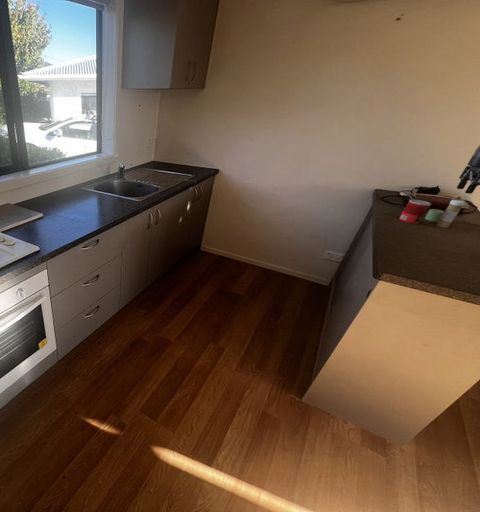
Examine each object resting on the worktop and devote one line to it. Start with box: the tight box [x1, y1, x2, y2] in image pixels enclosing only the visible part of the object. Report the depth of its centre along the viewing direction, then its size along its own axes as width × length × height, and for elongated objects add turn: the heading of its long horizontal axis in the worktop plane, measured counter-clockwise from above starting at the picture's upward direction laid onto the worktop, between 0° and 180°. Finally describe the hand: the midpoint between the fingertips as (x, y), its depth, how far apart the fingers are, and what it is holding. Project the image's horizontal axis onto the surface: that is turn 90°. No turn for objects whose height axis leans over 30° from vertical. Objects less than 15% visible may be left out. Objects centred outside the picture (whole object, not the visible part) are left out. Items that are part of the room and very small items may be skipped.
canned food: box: [398, 199, 432, 225], centre depth 149 cm, size 8×8×11 cm
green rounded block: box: [424, 208, 445, 223], centre depth 153 cm, size 6×6×5 cm
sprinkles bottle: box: [435, 199, 466, 229], centre depth 143 cm, size 5×5×14 cm
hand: (463, 191), depth 138 cm, fingers open, 8 cm apart
